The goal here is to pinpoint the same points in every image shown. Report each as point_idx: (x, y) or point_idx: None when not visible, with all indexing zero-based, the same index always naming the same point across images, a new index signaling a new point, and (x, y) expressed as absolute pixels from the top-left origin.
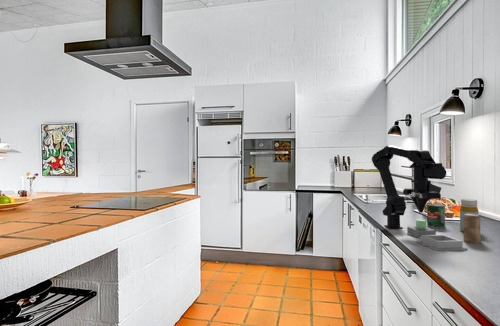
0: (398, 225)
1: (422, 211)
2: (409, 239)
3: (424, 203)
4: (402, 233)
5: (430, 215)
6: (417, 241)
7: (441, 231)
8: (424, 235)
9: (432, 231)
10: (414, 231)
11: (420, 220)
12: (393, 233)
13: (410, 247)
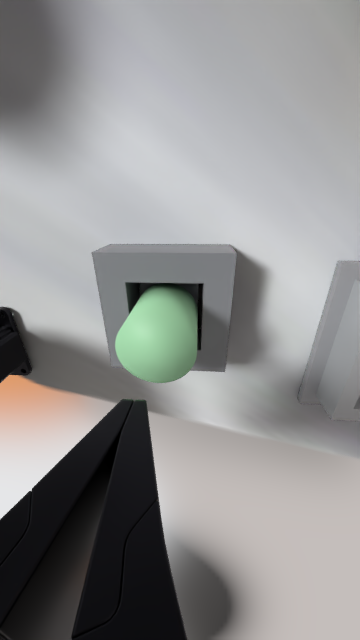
0: (11, 348)
1: (146, 414)
2: (243, 398)
3: (159, 588)
4: None
5: None
6: (303, 401)
7: (45, 37)
8: (341, 407)
9: (233, 277)
10: None
11: (154, 354)
12: None
13: (351, 452)
